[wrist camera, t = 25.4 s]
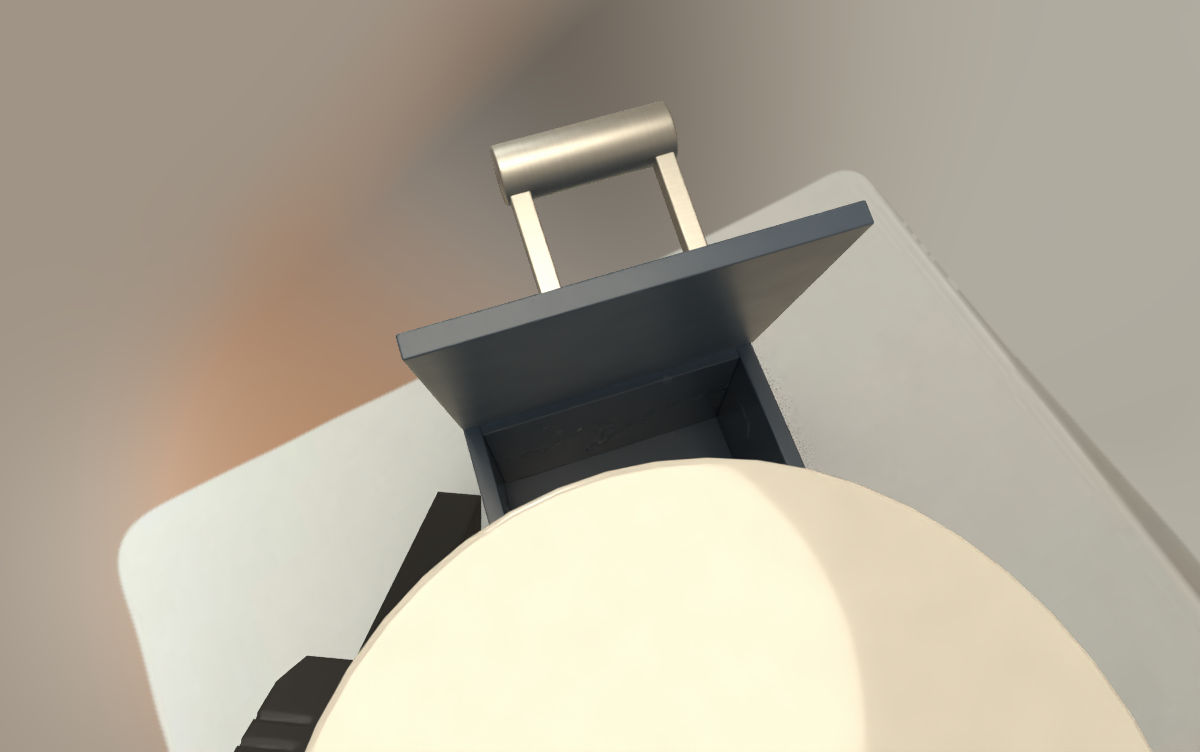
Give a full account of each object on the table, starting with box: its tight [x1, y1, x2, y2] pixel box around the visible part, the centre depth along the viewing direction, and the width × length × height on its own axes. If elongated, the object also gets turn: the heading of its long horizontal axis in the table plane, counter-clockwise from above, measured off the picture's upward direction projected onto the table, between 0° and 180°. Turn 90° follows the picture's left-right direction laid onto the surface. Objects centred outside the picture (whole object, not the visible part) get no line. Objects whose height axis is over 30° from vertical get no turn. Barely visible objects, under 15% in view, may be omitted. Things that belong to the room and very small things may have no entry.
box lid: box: [396, 101, 874, 430], centre depth 31 cm, size 15×15×7 cm
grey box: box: [464, 343, 805, 525], centre depth 40 cm, size 14×15×10 cm
